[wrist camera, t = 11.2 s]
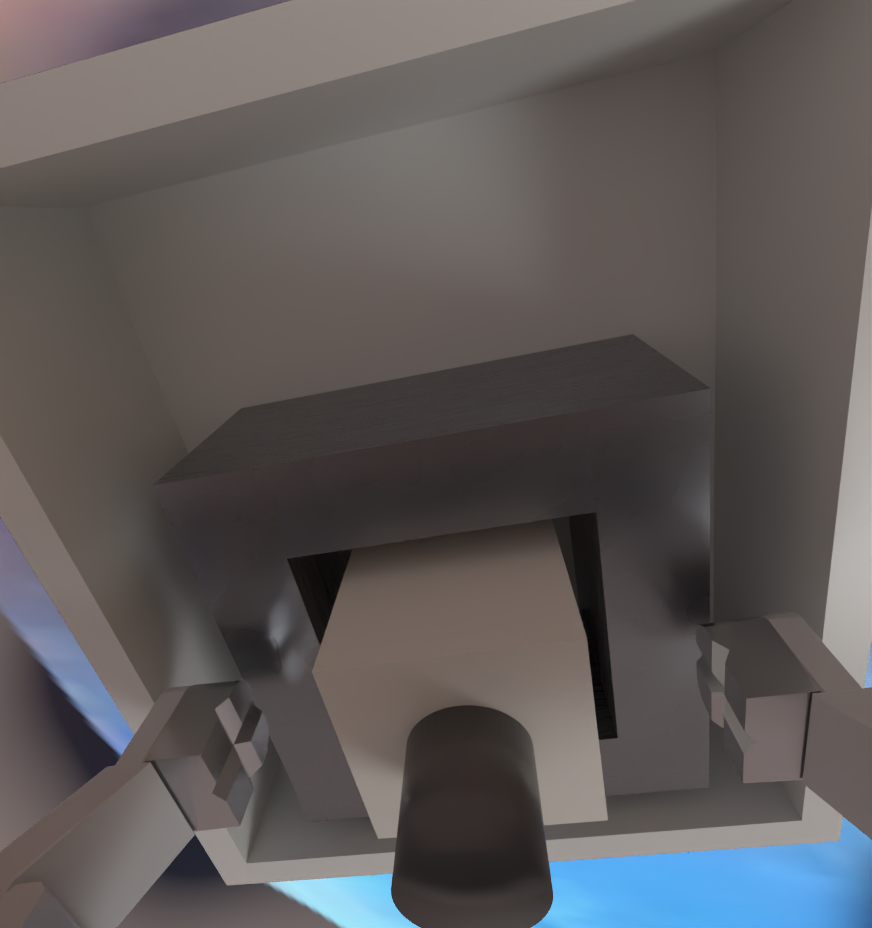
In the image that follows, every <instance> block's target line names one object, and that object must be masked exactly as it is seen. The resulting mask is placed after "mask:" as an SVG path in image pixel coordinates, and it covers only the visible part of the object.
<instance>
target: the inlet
mask: <svg viewBox="0 0 872 928" xmlns="http://www.w3.org/2000/svg"><path fill="white" fill-rule="evenodd" d="M710 443H711V388H709V387H708V386H707V385H705V384H704V383H702V382H701V381H699V380H698V379H697V378H695V377H694V376H692V375H691V374H689V373H688V372H687V371H685V370H684V369H682V368H681V367H679V366H678V365H677V364H675V363H674V362H672V361H671V360H669V359H668V358H666V357H665V356H664V355H662V354H661V353H659V352H658V351H656V350H655V349H654V348H652V347H651V346H649V345H648V344H646V343H645V342H644V341H642V340H641V339H639V338H638V337H636V336H635V335H633V334H631V335H625V336H620V337H615V338H610V339H604V340H599V341H594V342H589V343H583V344H578V345H573V346H567V347H562V348H557V349H552V350H546V351H541V352H536V353H531V354H525V355H520V356H515V357H509V358H504V359H499V360H494V361H488V362H483V363H478V364H472V365H467V366H462V367H457V368H451V369H446V370H441V371H436V372H430V373H425V374H420V375H414V376H409V377H404V378H399V379H393V380H388V381H383V382H378V383H372V384H367V385H362V386H356V387H351V388H346V389H341V390H335V391H330V392H325V393H320V394H314V395H309V396H304V397H298V398H293V399H288V400H283V401H277V402H272V403H267V404H261V405H256V406H251V407H246V408H241V409H240V410H239V411H237V412H236V413H235V414H234V415H233V416H232V417H230V418H229V419H228V420H227V421H226V422H225V423H224V424H222V425H221V426H220V427H219V428H218V429H217V430H216V431H214V432H213V433H212V434H211V435H210V436H209V437H207V438H206V439H205V440H204V441H203V442H202V443H201V444H199V445H198V446H197V447H196V448H195V449H194V450H193V451H191V452H190V453H189V454H188V455H187V456H186V457H184V458H183V459H182V460H181V461H180V462H179V463H178V464H176V465H175V466H174V467H173V468H172V469H171V470H170V471H168V472H167V473H166V474H165V475H164V476H163V477H162V478H160V479H159V480H158V481H157V482H156V483H155V484H153V485H152V487H153V489H154V491H155V493H156V495H157V497H158V500H159V502H160V504H161V506H162V508H163V510H164V512H165V514H166V517H167V519H168V521H169V523H170V525H171V527H172V529H173V531H174V534H175V536H176V538H177V540H178V542H179V544H180V546H181V548H182V551H183V553H184V555H185V557H186V559H187V561H188V563H189V565H190V568H191V570H192V572H193V574H194V576H195V578H196V580H197V583H198V585H199V587H200V589H201V591H202V593H203V595H204V597H205V600H206V602H207V604H208V606H209V608H210V610H211V612H212V614H213V617H214V619H215V621H216V623H217V625H218V627H219V629H220V631H221V634H222V636H223V638H224V640H225V642H226V644H227V646H228V648H229V651H230V653H231V655H232V657H233V659H234V661H235V663H236V665H237V668H238V670H239V672H240V674H241V676H242V678H243V680H244V681H248V682H249V684H250V686H251V688H252V690H253V692H254V694H255V695H254V697H253V702H254V704H255V706H256V707H257V708H259V709H260V710H262V711H263V713H264V715H265V717H266V720H267V724H268V729H269V736H270V738H271V740H272V742H273V744H274V746H275V748H276V751H277V753H278V755H279V757H280V759H281V761H282V763H283V765H284V768H285V770H286V772H287V774H288V776H289V778H290V780H291V782H292V785H293V787H294V789H295V791H296V793H297V795H298V797H299V800H300V802H301V804H302V806H303V808H304V810H305V812H306V814H307V817H308V819H309V821H310V822H315V821H327V820H338V819H350V818H362V817H369V815H368V812H367V810H366V807H365V805H364V802H363V800H362V797H361V795H360V792H359V790H358V787H357V785H356V782H355V780H354V777H353V774H352V772H351V769H350V767H349V764H348V762H347V759H346V757H345V754H344V752H343V749H342V747H341V744H340V742H339V739H338V737H337V734H336V732H335V729H334V727H333V724H332V722H331V719H330V717H329V714H328V712H327V709H326V706H325V704H324V701H323V699H322V696H321V694H320V691H319V689H318V686H317V684H316V681H315V679H314V676H313V674H312V670H313V667H314V664H315V661H316V658H317V655H318V652H319V649H320V646H321V643H322V640H323V637H324V634H325V631H326V628H327V625H328V622H329V619H330V616H331V613H332V610H333V607H334V603H335V600H336V597H337V594H338V591H339V588H340V585H341V582H342V579H343V576H344V573H345V570H346V567H347V564H348V561H349V558H350V555H351V552H352V549H355V548H361V547H368V546H375V545H381V544H388V543H394V542H401V541H408V540H414V539H421V538H428V537H434V536H441V535H447V534H454V533H461V532H467V531H474V530H481V529H487V528H494V527H500V526H507V525H514V524H520V523H527V522H534V521H540V520H547V519H554V518H560V517H567V516H568V517H569V525H570V534H571V542H572V550H573V559H574V567H575V575H576V584H577V592H578V600H579V609H578V610H579V613H580V616H581V620H582V623H583V627H584V630H585V633H586V637H587V643H588V652H589V661H590V669H591V678H592V686H593V695H594V704H595V712H596V721H597V730H598V738H599V747H600V756H601V764H602V773H603V782H604V790H605V796H617V795H628V794H640V793H651V792H663V791H675V790H686V789H698V788H709V714H708V712H707V710H706V707H705V705H704V702H703V700H702V697H701V694H700V690H699V685H698V680H697V670H696V662H697V661H698V659H699V658H700V657H701V656H702V653H701V651H700V649H699V647H698V645H697V643H696V629H697V626H698V624H705V623H710Z"/></svg>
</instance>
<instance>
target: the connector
mask: <svg viewBox="0 0 872 928" xmlns="http://www.w3.org/2000/svg"><path fill="white" fill-rule="evenodd" d="M312 674H313V676H314V679H315V681H316V684H317V686H318V689H319V691H320V694H321V696H322V699H323V701H324V704H325V706H326V709H327V712H328V714H329V717H330V719H331V722H332V724H333V727H334V729H335V732H336V734H337V737H338V739H339V742H340V744H341V747H342V749H343V752H344V754H345V757H346V759H347V762H348V764H349V767H350V769H351V772H352V774H353V777H354V780H355V782H356V785H357V787H358V790H359V792H360V795H361V797H362V800H363V802H364V805H365V807H366V810H367V812H368V815H369V817H370V820H371V822H372V825H373V827H374V830H375V832H376V835H377V837H378V839H382V838H395V837H397V839H396V848H395V858H394V867H393V877H392V886H391V894H392V899H393V902H394V904H395V906H396V907H397V909H398V910H399V911H400V913H401V914H402V915H403V916H404V917H406V918H407V919H408V920H409V921H411V922H412V923H414V924H415V925H417V926H419V927H421V928H531V927H532V926H534V925H536V924H537V923H538V922H539V921H541V920H542V919H543V918H544V917H545V916H546V914H547V913H548V911H549V910H550V908H551V905H552V901H553V891H552V883H551V876H550V868H549V861H548V853H547V846H546V838H545V831H544V825H556V824H568V823H581V822H593V821H605V820H608V816H607V807H606V799H605V790H604V782H603V773H602V764H601V756H600V747H599V738H598V730H597V721H596V712H595V704H594V695H593V686H592V678H591V669H590V661H589V652H588V643H587V637H586V633H585V630H584V627H583V623H582V620H581V616H580V613H579V610H578V606H577V603H576V599H575V596H574V593H573V589H572V586H571V582H570V579H569V576H568V572H567V569H566V565H565V562H564V559H563V555H562V552H561V548H560V545H559V542H558V538H557V535H556V531H555V528H554V525H553V521H552V519H547V520H540V521H534V522H527V523H520V524H514V525H507V526H500V527H494V528H487V529H481V530H474V531H467V532H461V533H454V534H447V535H441V536H434V537H428V538H421V539H414V540H408V541H401V542H394V543H388V544H381V545H375V546H368V547H361V548H355V549H352V552H351V555H350V558H349V561H348V564H347V567H346V570H345V573H344V576H343V579H342V582H341V585H340V588H339V591H338V594H337V597H336V600H335V603H334V607H333V610H332V613H331V616H330V619H329V622H328V625H327V628H326V631H325V634H324V637H323V640H322V643H321V646H320V649H319V652H318V655H317V658H316V661H315V664H314V667H313V670H312Z"/></svg>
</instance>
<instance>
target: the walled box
mask: <svg viewBox="0 0 872 928" xmlns="http://www.w3.org/2000/svg"><path fill="white" fill-rule="evenodd" d="M631 334H633V335H635V336H636V337H638V338H639V339H641V340H642V341H644V342H645V343H646V344H648V345H649V346H651V347H652V348H654V349H655V350H656V351H658V352H659V353H661V354H662V355H664V356H665V357H666V358H668V359H669V360H671V361H672V362H674V363H675V364H677V365H678V366H679V367H681V368H682V369H684V370H685V371H687V372H688V373H689V374H691V375H692V376H694V377H695V378H697V379H698V380H699V381H701V382H702V383H704V384H705V385H707V386H708V387H709V388H711V443H710V623H712V622H720V621H728V620H735V619H743V618H751V617H760V616H764V615H771V614H779V613H786V612H795V613H796V614H798V615H800V616H801V617H802V618H803V620H804V621H805V622H806V623H807V624H808V625H809V627H810V628H811V629H812V630H813V631H814V632H815V634H816V635H817V636H818V637H819V638H820V639H821V641H822V642H823V643H824V644H825V645H826V647H827V648H828V649H829V650H830V651H831V652H832V654H833V655H834V656H835V657H836V658H837V659H838V661H839V662H840V663H841V664H842V665H843V666H844V668H845V669H846V670H847V671H848V672H849V673H850V675H851V676H852V677H853V678H854V679H855V680H856V682H857V683H858V684H859V685H860V686H861V687H862V688H864V684H865V678H866V672H867V666H868V660H869V653H870V647H871V641H872V0H291V1H287V2H284V3H280V4H277V5H273V6H270V7H266V8H263V9H259V10H256V11H252V12H249V13H245V14H242V15H238V16H235V17H231V18H228V19H224V20H221V21H217V22H214V23H210V24H207V25H203V26H200V27H196V28H193V29H189V30H186V31H182V32H179V33H175V34H172V35H168V36H165V37H161V38H158V39H154V40H151V41H147V42H144V43H140V44H137V45H133V46H130V47H126V48H123V49H120V50H116V51H113V52H109V53H106V54H102V55H99V56H95V57H92V58H88V59H85V60H81V61H78V62H74V63H71V64H67V65H64V66H60V67H57V68H53V69H50V70H46V71H43V72H39V73H36V74H32V75H29V76H25V77H22V78H18V79H15V80H11V81H8V82H4V83H1V84H0V517H1V519H2V520H3V522H4V524H5V525H6V527H7V528H8V530H9V532H10V533H11V535H12V537H13V538H14V540H15V541H16V543H17V545H18V546H19V548H20V550H21V551H22V553H23V554H24V556H25V558H26V559H27V561H28V563H29V564H30V566H31V567H32V569H33V571H34V572H35V574H36V576H37V577H38V579H39V580H40V582H41V584H42V585H43V587H44V589H45V590H46V592H47V593H48V595H49V597H50V598H51V600H52V602H53V603H54V605H55V606H56V608H57V610H58V611H59V613H60V615H61V616H62V618H63V619H64V621H65V623H66V624H67V626H68V628H69V629H70V631H71V632H72V634H73V636H74V637H75V639H76V641H77V642H78V644H79V645H80V647H81V649H82V650H83V652H84V654H85V655H86V657H87V658H88V660H89V662H90V663H91V665H92V667H93V668H94V670H95V672H96V673H97V675H98V676H99V678H100V680H101V681H102V683H103V685H104V686H105V688H106V689H107V691H108V693H109V694H110V696H111V698H112V699H113V701H114V702H115V704H116V706H117V707H118V709H119V711H120V712H121V714H122V715H123V717H124V719H125V720H126V722H127V724H128V725H129V727H130V728H131V730H132V732H133V733H134V735H135V734H136V732H137V731H138V729H139V727H140V726H141V724H142V723H143V721H144V720H145V718H146V716H147V715H148V713H149V712H150V710H151V709H152V707H153V705H154V704H155V702H156V701H157V699H158V698H159V696H160V694H161V693H162V692H164V691H165V690H167V689H168V688H170V687H181V686H192V685H196V684H206V683H217V682H228V681H238V680H242V681H244V680H243V678H242V676H241V674H240V672H239V670H238V668H237V665H236V663H235V661H234V659H233V657H232V655H231V653H230V651H229V648H228V646H227V644H226V642H225V640H224V638H223V636H222V634H221V631H220V629H219V627H218V625H217V623H216V621H215V619H214V617H213V614H212V612H211V610H210V608H209V606H208V604H207V602H206V600H205V597H204V595H203V593H202V591H201V589H200V587H199V585H198V583H197V580H196V578H195V576H194V574H193V572H192V570H191V568H190V565H189V563H188V561H187V559H186V557H185V555H184V553H183V551H182V548H181V546H180V544H179V542H178V540H177V538H176V536H175V534H174V531H173V529H172V527H171V525H170V523H169V521H168V519H167V517H166V514H165V512H164V510H163V508H162V506H161V504H160V502H159V500H158V497H157V495H156V493H155V491H154V489H153V487H152V485H153V484H155V483H156V482H157V481H158V480H159V479H160V478H162V477H163V476H164V475H165V474H166V473H167V472H168V471H170V470H171V469H172V468H173V467H174V466H175V465H176V464H178V463H179V462H180V461H181V460H182V459H183V458H184V457H186V456H187V455H188V454H189V453H190V452H191V451H193V450H194V449H195V448H196V447H197V446H198V445H199V444H201V443H202V442H203V441H204V440H205V439H206V438H207V437H209V436H210V435H211V434H212V433H213V432H214V431H216V430H217V429H218V428H219V427H220V426H221V425H222V424H224V423H225V422H226V421H227V420H228V419H229V418H230V417H232V416H233V415H234V414H235V413H236V412H237V411H239V410H240V409H241V408H246V407H251V406H256V405H261V404H267V403H272V402H277V401H283V400H288V399H293V398H298V397H304V396H309V395H314V394H320V393H325V392H330V391H335V390H341V389H346V388H351V387H356V386H362V385H367V384H372V383H378V382H383V381H388V380H393V379H399V378H404V377H409V376H414V375H420V374H425V373H430V372H436V371H441V370H446V369H451V368H457V367H462V366H467V365H472V364H478V363H483V362H488V361H494V360H499V359H504V358H509V357H515V356H520V355H525V354H531V353H536V352H541V351H546V350H552V349H557V348H562V347H567V346H573V345H578V344H583V343H589V342H594V341H599V340H604V339H610V338H615V337H620V336H625V335H631ZM552 521H553V525H554V528H555V531H556V535H557V538H558V542H559V545H560V548H561V552H562V555H563V559H564V562H565V565H566V569H567V572H568V576H569V579H570V582H571V586H572V589H573V593H574V596H575V599H576V603H577V606H578V609H579V600H578V592H577V584H576V575H575V567H574V559H573V550H572V542H571V534H570V525H569V517H568V516H567V517H560V518H554V519H552ZM251 704H253V705H254V706H255V704H254V702H253V700H252V702H251ZM723 744H724V729H723V728H722V727H721V726H719V725H718V724H716V723H715V722H713V721H712V720H711V718H710V716H709V788H698V789H686V790H675V791H663V792H651V793H640V794H628V795H617V796H605V799H606V807H607V816H608V820H605V821H593V822H581V823H568V824H556V825H544V831H545V838H546V846H547V853H548V861H549V862H556V861H570V860H584V859H598V858H612V857H625V856H639V855H653V854H667V853H681V852H695V851H708V850H722V849H736V848H750V847H764V846H777V845H791V844H805V843H819V842H833V841H839V838H840V832H841V826H842V820H843V816H842V815H841V814H840V813H839V812H837V811H836V810H835V809H834V808H832V807H831V806H830V805H829V804H827V803H826V802H825V801H824V800H823V799H821V798H820V797H819V796H818V795H816V794H815V793H814V792H813V791H811V790H810V789H809V788H808V787H807V786H805V785H804V784H803V783H802V780H793V781H775V782H758V783H743V782H742V781H741V779H740V777H739V775H738V773H737V771H736V769H735V767H734V765H733V763H732V761H731V759H730V757H729V755H728V753H727V751H726V749H725V747H724V745H723ZM250 779H251V782H252V785H253V788H254V790H253V793H252V795H251V798H250V801H249V803H248V806H247V809H246V811H245V814H244V817H243V820H242V822H241V825H240V826H237V827H229V828H221V829H212V830H204V831H195V834H196V836H197V837H198V839H199V841H200V842H201V844H202V845H203V847H204V849H205V850H206V852H207V854H208V855H209V857H210V858H211V860H212V862H213V863H214V865H215V867H216V868H217V870H218V872H219V873H220V875H221V876H222V878H223V880H224V881H225V883H226V884H227V885H237V884H252V883H266V882H280V881H294V880H308V879H322V878H335V877H349V876H363V875H377V874H391V873H393V867H394V858H395V848H396V839H397V837H395V838H382V839H378V837H377V835H376V832H375V830H374V827H373V825H372V822H371V820H370V817H362V818H350V819H338V820H327V821H315V822H310V821H309V819H308V817H307V814H306V812H305V810H304V808H303V806H302V804H301V802H300V800H299V797H298V795H297V793H296V791H295V789H294V787H293V785H292V782H291V780H290V778H289V776H288V774H287V772H286V770H285V768H284V765H283V763H282V761H281V759H280V757H279V755H278V753H277V751H276V748H275V746H274V744H273V742H272V740H271V738H270V736H269V741H268V751H267V753H266V756H265V759H264V762H263V765H262V766H261V767H260V768H259V769H258V770H257V771H256V772H255V773H254V774H253V775H252V776H251V777H250Z"/></svg>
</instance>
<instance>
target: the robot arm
mask: <svg viewBox="0 0 872 928" xmlns="http://www.w3.org/2000/svg"><path fill="white" fill-rule="evenodd" d="M696 643H697V645H698V647H699V649H700V651H701V653H702V656H701V657H700V658H699V659H698V661H697V662H696V670H697V680H698V685H699V690H700V694H701V697H702V700H703V702H704V705H705V707H706V710H707V712H708V714H709V716H710V718H711V720H712V721H713V722H715V723H716V724H718V725H719V726H721V727H722V728H723V729H724V744H723V745H724V747H725V749H726V751H727V753H728V755H729V757H730V759H731V761H732V763H733V765H734V767H735V769H736V771H737V773H738V775H739V777H740V779H741V781H742V782H743V783H758V782H775V781H793V780H802V783H803V784H804V785H805V786H807V787H808V788H809V789H810V790H811V791H813V792H814V793H815V794H816V795H818V796H819V797H820V798H821V799H823V800H824V801H825V802H826V803H827V804H829V805H830V806H831V807H832V808H834V809H835V810H836V811H837V812H839V813H840V814H841V815H842V816H843V817H845V818H846V819H847V820H848V821H850V822H851V823H852V824H853V825H854V826H856V827H857V828H858V829H859V830H861V831H862V832H863V833H864V834H866V835H867V836H868V837H869V838H870V839H872V688H862V687H861V686H860V685H859V684H858V683H857V682H856V680H855V679H854V678H853V677H852V676H851V675H850V673H849V672H848V671H847V670H846V669H845V668H844V666H843V665H842V664H841V663H840V662H839V661H838V659H837V658H836V657H835V656H834V655H833V654H832V652H831V651H830V650H829V649H828V648H827V647H826V645H825V644H824V643H823V642H822V641H821V639H820V638H819V637H818V636H817V635H816V634H815V632H814V631H813V630H812V629H811V628H810V627H809V625H808V624H807V623H806V622H805V621H804V620H803V618H802V617H801V616H800V615H798V614H796V613H795V612H786V613H779V614H771V615H764V616H760V617H751V618H743V619H735V620H728V621H720V622H712V623H705V624H698V626H697V629H696ZM254 695H255V694H254V692H253V690H252V688H251V686H250V684H249V682H248V681H242V680H238V681H228V682H217V683H206V684H196V685H192V686H181V687H170V688H168V689H167V690H165V691H164V692H162V693H161V694H160V696H159V698H158V699H157V701H156V702H155V704H154V705H153V707H152V709H151V710H150V712H149V713H148V715H147V716H146V718H145V720H144V721H143V723H142V724H141V726H140V727H139V729H138V731H137V732H136V734H135V735H134V737H133V738H132V740H131V741H130V743H129V745H128V746H127V748H126V749H125V751H124V752H123V754H122V756H121V757H120V759H119V760H118V762H117V763H116V765H115V766H109V767H106V768H105V769H104V770H102V771H101V772H100V773H99V774H97V775H96V776H95V777H94V778H92V779H91V780H90V781H89V782H87V783H86V784H85V785H84V786H82V787H81V788H80V789H79V790H77V791H76V792H75V793H73V794H72V795H71V796H70V797H69V798H67V799H66V800H65V801H63V802H62V803H61V804H60V805H58V806H57V807H56V808H55V809H53V810H52V811H51V812H50V813H48V814H47V815H46V816H45V817H43V818H42V819H41V820H40V821H38V822H37V823H36V824H35V825H33V826H32V827H31V828H29V829H28V830H27V831H26V832H25V833H23V834H22V835H21V836H19V837H18V838H17V839H16V840H14V841H13V842H12V843H11V844H9V845H8V846H7V847H6V848H4V849H3V850H2V851H1V852H0V928H117V926H118V925H119V924H120V923H121V922H122V920H123V919H124V918H125V917H126V916H127V914H128V913H129V912H130V911H131V910H132V909H133V907H134V906H135V905H136V904H137V903H138V901H139V900H140V899H141V898H142V897H143V896H144V894H145V893H146V892H147V891H148V890H149V888H150V887H151V886H152V885H153V884H154V882H155V881H156V880H157V879H158V878H159V876H160V875H161V874H162V873H163V872H164V871H165V869H166V868H167V867H168V866H169V865H170V863H171V862H172V861H173V860H174V859H175V857H176V856H177V855H178V854H179V853H180V851H181V850H182V849H183V848H184V847H185V846H186V844H187V843H188V842H189V841H190V840H191V838H192V837H193V836H194V835H195V833H194V832H195V831H204V830H212V829H221V828H229V827H237V826H240V825H241V822H242V820H243V817H244V814H245V811H246V809H247V806H248V803H249V801H250V798H251V795H252V793H253V790H254V788H253V785H252V782H251V779H250V777H251V776H252V775H253V774H254V773H255V772H256V771H257V770H258V769H259V768H260V767H261V766H262V765H263V762H264V759H265V756H266V753H267V751H268V741H269V729H268V724H267V720H266V717H265V715H264V713H263V711H262V710H260V709H259V708H257V707H256V706H254V705H253V704H251V702H252V700H253V697H254Z"/></svg>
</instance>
